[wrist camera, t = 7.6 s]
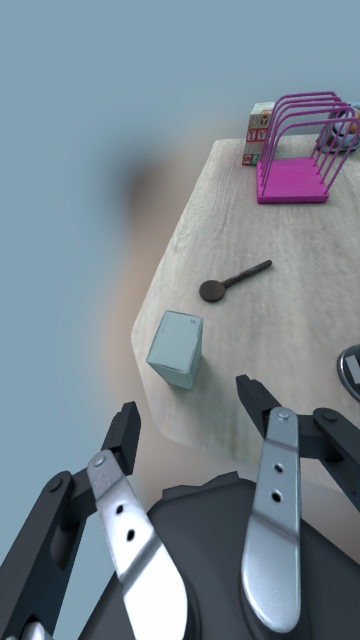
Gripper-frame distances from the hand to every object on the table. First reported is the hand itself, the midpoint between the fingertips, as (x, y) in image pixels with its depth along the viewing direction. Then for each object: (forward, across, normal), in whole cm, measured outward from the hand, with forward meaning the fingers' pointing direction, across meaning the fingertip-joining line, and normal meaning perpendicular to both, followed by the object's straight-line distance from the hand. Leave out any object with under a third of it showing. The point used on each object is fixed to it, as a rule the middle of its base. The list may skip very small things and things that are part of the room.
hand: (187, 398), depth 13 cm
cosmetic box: (+14, 0, +5) cm, 15 cm away
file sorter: (+48, -44, -29) cm, 71 cm away
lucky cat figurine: (+58, -70, -39) cm, 99 cm away
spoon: (+24, -15, -6) cm, 29 cm away
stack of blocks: (+67, -45, -48) cm, 94 cm away
